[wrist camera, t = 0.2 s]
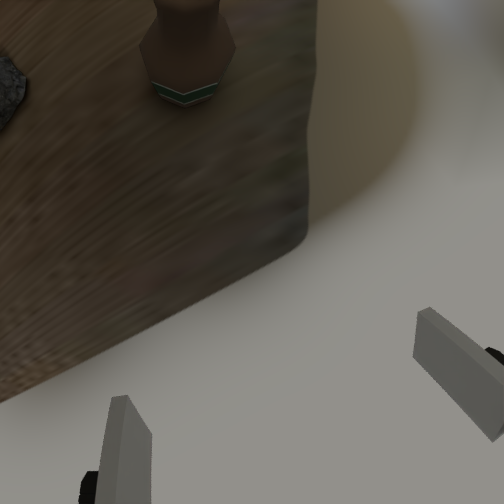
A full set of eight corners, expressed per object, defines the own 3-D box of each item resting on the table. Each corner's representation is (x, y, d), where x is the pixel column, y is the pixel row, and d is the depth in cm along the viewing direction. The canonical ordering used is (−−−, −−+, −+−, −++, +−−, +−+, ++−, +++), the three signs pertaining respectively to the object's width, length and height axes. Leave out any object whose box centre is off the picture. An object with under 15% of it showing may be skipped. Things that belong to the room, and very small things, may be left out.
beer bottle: (184, 123, 34) (174, 81, 12) (140, 77, 31) (73, -14, 9) (235, 80, 33) (307, -10, 11) (191, 35, 31) (203, -94, 8)
